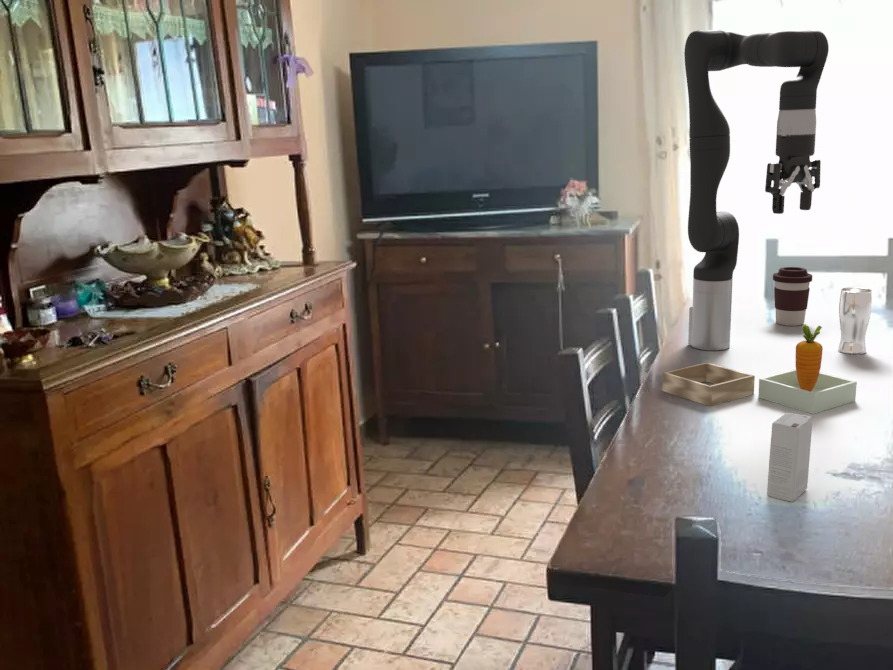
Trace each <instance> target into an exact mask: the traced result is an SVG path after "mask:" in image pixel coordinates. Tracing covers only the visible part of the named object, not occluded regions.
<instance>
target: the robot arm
mask: <svg viewBox="0 0 893 670" xmlns="http://www.w3.org/2000/svg"><path fill="white" fill-rule="evenodd" d="M683 53H684V55H683V56H684V67H685V68H684V69H685V76H686V78H685V79H686V84H687V86H686V87H687V94H688V97H687V98H688V110H689V112H688V115H689V138H688V139H689V159H690V161H689V162H690V165H689V166H690V167H689V168H690V175H689V176H690V183H689V185H690V186H689V187H690V188H689V189H690V191H689V193H690V194H689V195H690V196H689V206H688V219H687V235H688V241H689V244H690V245H691V247H692V248H693V249H694V250H695V251H697V252H698V253H705V254H704V256H703V258H702V259H701V261H699V262H698V263H697V264H696V265H695V266H694V268H693V272H692V273H693V277H692V278H693V279H692V281H693V282H692V306H690V307H689V311H688V335H687V336H688V339H687V340H688V342H687V343H688V345H689V346H691V347H692V348H694V349H698V350H703V351H722V350H723V351H724V350H727V349H729V348H730V345H731V329H732V328H731V327H732V325H731V323H732V302H733V301H732V299H733V298H732V297H733V277H734V276H733V275H734V271H735V269H736V266H737V261H738V253H739V242H740V228H739V223H738V221H737V219H736V217H735V216H734V215H733V214H732V213H730V212H729V211H728V212H727V211H717V197H718V196H717V195H718V190H719V186H720V183H721V181H722V178H723V176H724V174H725V171H726V169H727V167H728V164H729V160H730V157H731V156H730V155H731V130H730V125H729V122H728V120H727V119H726V116H725V114H724V113H723V111H722V110H721V108H720V106H719V105H718V104H717V102H716V100H715V98H714V96H713V93H712V89H711V86H710V78H709V77H710V76H709V72H719V71H723V70H727V69H730V68H734V67H737V66H742V65H747V66H751V67H761V68H762V67H764V68H770V67H771V68H772V67H774V68H775V67H776V68H799V71H798V73H797V75H796V76H795V77H794V78H792V79H788V80H786V81H784V82H782V83H781V85H780V89H779V102H778V103H779V104H778V105H779V106H778V116H777V121H776V136H775V137H776V139H775V156H776V157H778V158H779V159H778V162H768V163H767V166H766V177H765V186H764V187H765V188H764V191H765V193H769V194H771V195H772V204H771V205H772V206H771V208H772V214H778V215H781V214H784V212H785V193H786V191H787V189H788V188H789V187H791V185H792V184H796V185H798V188H799V189H800V196H799V209H800V211H810V210H811V207H812V199H813V198H812V197H813V192H814V191H815V189H819V188H820V187H821V160H820V159H811V157H812V156H814V154H815V149H816V130H817V114H816V112H817V110H816V108H817V97H818V96H817V92H818V86H819V84H820V81H821V78H822V75H823V71H824V68H825V65H826V62H827V60H828V59H827V58H828V57H829V56H828V55H829V41H828V38H827V37H826V35H825V34H824V32H822V31H820V30H815V29H812V30H811V29H810V30H783V31H782V30H781V31H768V32H767V31H766V32H764V31H763V32H755V33H751V34H748V35H747V34H741V33H737V32H733V31H729V30H725V29H702V30H694V31H692V32H690V33H689V34H688V36H687V38H686V41H685V45H684V52H683ZM813 177H814V180H813ZM772 182H773V184H772ZM772 185H773V186H772Z"/></svg>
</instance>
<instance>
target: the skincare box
mask: <svg viewBox="0 0 893 670" xmlns="http://www.w3.org/2000/svg"><path fill="white" fill-rule="evenodd" d="M812 431H813V417H812V416H809V415H804V414H798V413H792V412H785V413H784V414H782V415H781V416H780V417H779V418H777V419H776V420H775V421H773V422H772V423H771V435H770V436H771V437H770V449H769V459H768V461H769V462H768V475H767V488H766V489H767V490H766V496H768V497H771V498H774V499H778V500H782V501H787V502H791V503H793V502H794V501H796V499H798V498H799V497H800V496H801V495H802V494H803V493H805V491H806V490H807V489H808V484H809V483H808V481H809V472H810V471H809V470H810V469H809V467H810V459H811V458H810V457H811V445H812V443H811V442H812V434H813V432H812Z"/></svg>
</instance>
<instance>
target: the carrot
mask: <svg viewBox="0 0 893 670" xmlns="http://www.w3.org/2000/svg"><path fill="white" fill-rule="evenodd" d="M801 326H802V327H801V328H802V331H803V335H802V337H803V338H804V340H801V341H799V342H798V343H797V344H796V345H795V369H796V373H797V379H798V383H799V386H800V388H801V389H803V390H806V391H810V392H811V391H812V390H813V388H814V386H815V384H816V382H817V379H818V376H819V372H820V370H821V367H822V360H823V345H822V344H821V343H819V342H818V341H816V340H815V339H816V338H817V336H818V335H820V334H821V332H820V331H821V330H822V329H823V328H822V327H823V326H821V325H818V326H817V327H816V328H815V330H814V332H812V331H811V329H810V327H809V326H808V325H807V324H802V325H801ZM820 373H821V372H820Z"/></svg>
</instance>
